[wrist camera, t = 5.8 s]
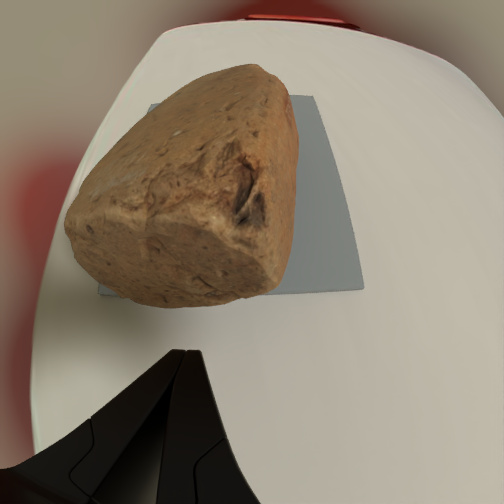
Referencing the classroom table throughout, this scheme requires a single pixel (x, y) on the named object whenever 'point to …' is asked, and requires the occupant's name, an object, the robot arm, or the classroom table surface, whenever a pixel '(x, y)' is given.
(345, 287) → the mat
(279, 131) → the block
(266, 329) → the classroom table surface
